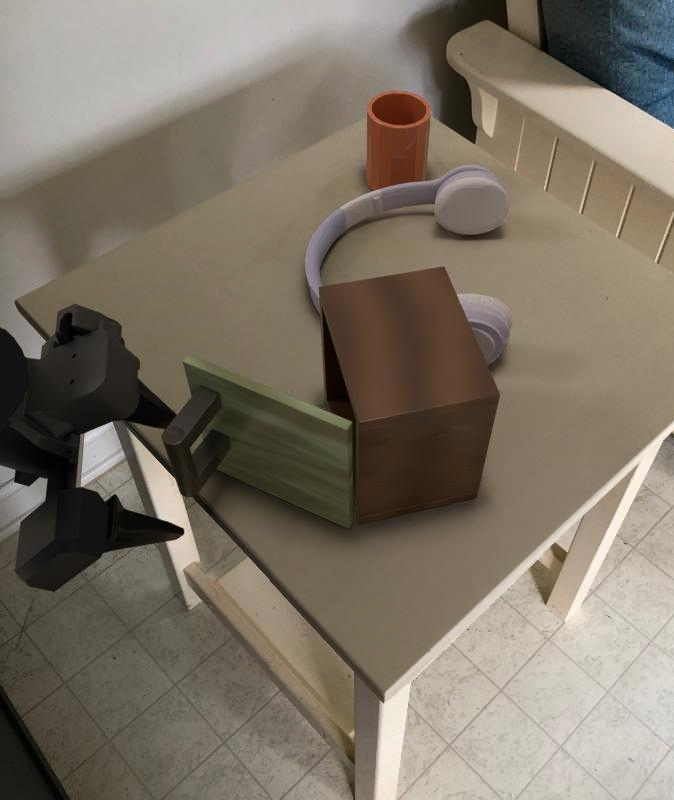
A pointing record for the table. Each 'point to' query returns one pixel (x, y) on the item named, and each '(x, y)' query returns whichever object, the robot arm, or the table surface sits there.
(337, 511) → the door
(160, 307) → the table surface
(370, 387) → the cupboard
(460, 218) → the headphones
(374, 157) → the cup
